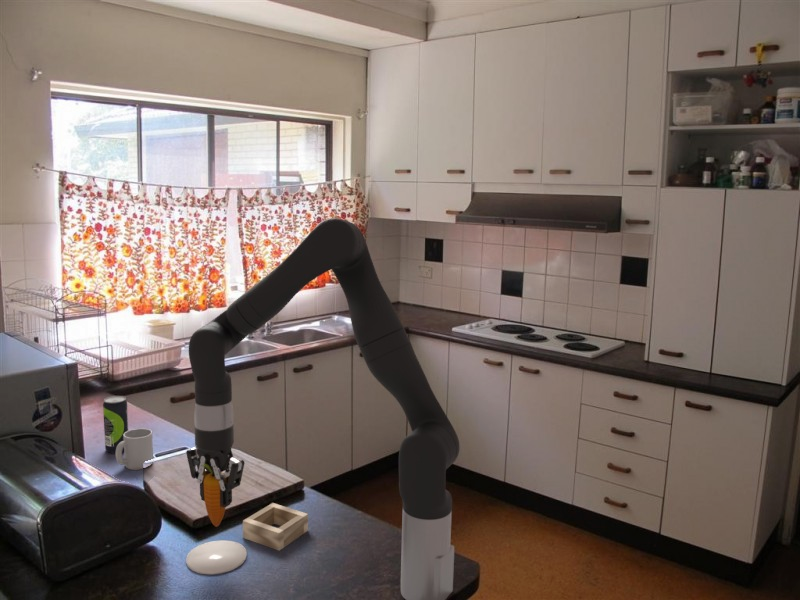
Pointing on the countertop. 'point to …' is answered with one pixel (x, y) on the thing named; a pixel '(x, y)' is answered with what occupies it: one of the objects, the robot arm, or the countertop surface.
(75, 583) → the countertop surface
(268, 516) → the pocket frame
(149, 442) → the cup
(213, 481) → the carrot
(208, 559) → the domed disc
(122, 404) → the beverage can
